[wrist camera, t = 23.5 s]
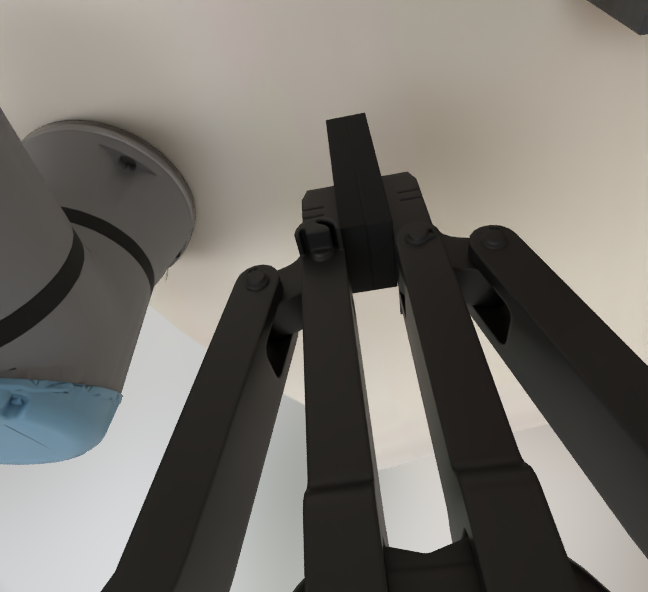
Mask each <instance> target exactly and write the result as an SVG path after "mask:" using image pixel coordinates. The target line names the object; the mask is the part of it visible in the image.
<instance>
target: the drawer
mask: <svg viewBox="0 0 648 592" xmlns="http://www.w3.org/2000/svg"><path fill="white" fill-rule="evenodd" d="M587 1H589V2H590V3H592V4H593V5H595V6H596V7H598V8H599V9H601V10H602V11H604V12H605V13H607V14H608V15H610V16H611V17H613V18H614V19H616V20H618V21H619V22H621V23H622V24H624V25H625V26H627V27H628V28H630V29H631V30H633V31H634V32H636V33H637V34H639V35H645V34H648V0H587Z"/></svg>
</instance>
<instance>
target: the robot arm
mask: <svg viewBox="0 0 648 592" xmlns="http://www.w3.org/2000/svg"><path fill="white" fill-rule="evenodd" d="M326 125H327V133H328V141H329V149H330V157H331V165H332V173H333V181H334V186H331V187H326V188H320V189H315V190H309V191H307V192H306V194H305V196H304V198H303V199H302V218H303V223H302V224H300V225H299V227H298V228H297V229H296V231H295V235H294V236H295V239H296V243H297V246H298V250H299V253H300V257H299V258H298V259H297V260H296V261H295V262H294V263H292V264H291V265H289V266H287V267H285V268H283V269H280V270H278V271H277V270H276V269H275V268H273V267H272V266H268V265H257V266H253V267H251V268H249V269H247V270H245V271H244V272H243V273H241V274H240V276H239V277H238V279H237V280H236V283H235V285H234V287H233V290H232V292H231V295H230V297H229V299H228V302H227V304H226V307H225V309H224V311H223V314H222V316H221V319H220V321H219V323H218V326H217V328H216V331H215V333H214V335H213V338H212V340H211V343H210V345H209V347H208V350H207V352H206V355H205V357H204V359H203V362H202V364H201V367H200V369H199V371H198V374H197V376H196V379H195V381H194V384H193V386H192V389H191V391H190V393H189V396H188V398H187V400H186V403H185V405H184V408H183V410H182V412H181V415H180V417H179V420H178V422H177V424H176V427H175V429H174V432H173V434H172V436H171V439H170V441H169V444H168V446H167V448H166V451H165V453H164V456H163V458H162V460H161V463H160V465H159V468H158V470H157V472H156V475H155V477H154V480H153V482H152V484H151V487H150V489H149V492H148V494H147V496H146V499H145V501H144V504H143V506H142V509H141V511H140V513H139V516H138V518H137V520H136V523H135V525H134V528H133V530H132V532H131V535H130V537H129V540H128V542H127V544H126V547H125V549H124V552H123V554H122V557H121V559H120V561H119V564H118V566H117V569H116V571H115V573H114V574H113V576H112V577H111V578H110V580H109V581H108V582H107V584H106V585H105V586H104V588H103V589H102V591H101V592H229V591H230V587H231V585H232V581H233V578H234V575H235V571H236V567H237V563H238V559H239V556H240V552H241V548H242V544H243V540H244V537H245V533H246V529H247V526H248V522H249V518H250V514H251V511H252V506H253V503H254V499H255V496H256V492H257V488H258V484H259V480H260V477H261V473H262V469H263V465H264V461H265V458H266V454H267V450H268V447H269V443H270V439H271V435H272V432H273V428H274V424H275V420H276V416H277V413H278V409H279V405H280V402H281V398H282V394H283V390H284V387H285V383H286V379H287V375H288V372H289V368H290V364H291V360H292V356H293V353H294V349H295V345H296V341H297V338H298V331H300V330H302V329H303V351H304V382H305V413H306V443H307V474H308V484H307V489H306V491H305V494H304V500H303V532H304V533H303V534H304V575H305V578H304V579H303V580H302V581H301V582H300V583H299V584H298V585H297V587H296V588H295V590H294V591H293V592H610V591H609V590H608V589H607V588H606V587H604V586H603V585H602V584H601V583H600V582H599V581H598V580H597V579H596V578H595V577H593V576H592V575H591V574H590V573H589V572H588V571H586V570H585V569H584V568H583V567H581V566H580V565H579V564H577V563H576V562H575V561H573V560H572V559H570V558H569V557H567V554H566V551H565V549H564V546H563V543H562V541H561V538H560V536H559V533H558V530H557V527H556V524H555V522H554V519H553V516H552V514H551V511H550V508H549V506H548V503H547V500H546V498H545V495H544V493H543V490H542V487H541V485H540V482H539V480H538V478H537V475H536V474H535V472H534V470H533V469H532V467H531V466H530V465H528V464H527V463H525V462H524V460H523V459H522V457H521V455H520V452H519V450H518V447H517V444H516V442H515V438H514V436H513V433H512V430H511V427H510V425H509V422H508V419H507V416H506V413H505V411H504V408H503V405H502V402H501V400H500V397H499V394H498V391H497V388H496V386H495V383H494V380H493V377H492V375H491V372H490V369H489V366H488V363H487V361H486V358H485V355H484V352H483V350H482V347H481V344H480V341H479V338H478V336H477V333H476V330H475V327H474V325H473V322H472V319H471V316H472V318H473V319H474V320H475V322H476V323H477V325H478V326H479V327H480V329H481V330H482V332H483V333H484V334H485V336H486V337H487V339H488V340H489V341H490V343H491V344H492V345H493V347H494V348H495V350H496V351H497V352H498V354H499V355H500V357H501V358H502V359H503V361H504V362H505V364H506V365H507V366H508V368H509V369H510V370H511V372H512V373H513V375H514V376H515V377H516V379H517V380H518V382H519V383H520V384H521V386H522V387H523V389H524V390H525V391H526V393H527V394H528V395H529V397H530V398H531V400H532V401H533V402H534V404H535V405H536V407H537V408H538V409H539V411H540V412H541V413H542V415H543V416H544V418H545V419H546V420H547V422H548V423H549V424H550V426H551V427H552V429H553V430H554V432H555V433H556V434H557V436H558V437H559V438H560V440H561V441H562V442H563V444H564V445H565V447H566V448H567V450H568V451H569V452H570V454H571V455H572V457H573V458H574V459H575V461H576V462H577V463H578V465H579V466H580V468H581V469H582V470H583V472H584V473H585V475H586V476H587V477H588V479H589V480H590V481H591V483H592V484H593V486H594V487H595V488H596V490H597V491H598V493H599V494H600V495H601V497H602V498H603V500H604V501H605V502H606V504H607V505H608V507H609V508H610V509H611V511H612V512H613V513H614V514H615V516H616V518H617V519H618V520H619V522H620V523H621V524H622V526H623V527H624V528H625V530H626V531H627V533H628V534H629V535H630V537H631V538H632V540H633V541H634V542H635V543H636V545H637V546H638V547H639V548H640V550H641V551H642V552H643V554H644V555H645V556H646V557H647V559H648V366H647V365H646V364H645V363H644V362H643V361H642V360H641V359H640V358H639V357H638V356H637V355H636V354H635V353H634V352H633V351H632V350H631V349H630V348H629V347H628V346H627V345H626V344H625V343H624V342H623V341H622V340H621V339H620V338H619V337H618V336H617V335H616V334H615V333H614V332H613V331H612V330H611V329H610V328H609V327H608V325H607V324H606V323H605V322H604V321H603V320H602V319H601V318H600V317H599V316H598V315H597V314H596V313H595V312H594V311H593V310H592V309H591V308H590V307H589V306H588V305H587V304H586V303H585V302H584V301H583V300H582V299H581V298H580V297H579V296H578V295H577V294H576V293H575V292H574V291H573V290H572V289H571V288H570V287H569V286H568V285H567V284H566V283H565V282H564V281H563V280H562V279H561V278H560V277H559V276H558V275H557V274H556V273H555V272H554V271H553V270H552V269H551V268H550V267H549V266H548V265H547V264H546V263H545V262H544V261H543V260H542V259H541V258H540V257H539V256H538V255H537V254H536V253H535V252H534V251H533V250H532V249H531V248H530V247H529V246H528V245H527V244H526V243H525V242H524V241H523V240H522V239H521V238H520V237H519V236H518V235H517V234H516V233H515V232H513V231H512V230H510V229H509V228H506V227H503V226H498V225H488V226H483V227H480V228H478V229H476V230H474V231H473V233H472V234H471V235H470V238H460V237H451V236H448V235H444V234H442V233H441V232H440V231H439V230H438V228H437V227H435V226H434V225H433V224H432V222H431V219H430V216H429V213H428V210H427V208H426V205H425V202H424V199H423V197H422V193H421V191H420V188H419V185H418V182H417V179H416V178H415V177H413V176H412V175H411V174H410V173H409V172H402V173H397V174H391V175H386V176H381V173H380V169H379V166H378V162H377V158H376V154H375V150H374V146H373V142H372V138H371V135H370V131H369V127H368V123H367V119H366V115H365V113H360V114H355V115H350V116H345V117H340V118H335V119H330V120H326ZM194 224H195V205H194V201H193V197H192V194H191V192H190V189H189V187H188V185H187V183H186V182H185V180H184V178H183V177H182V175H181V174H180V173H179V171H178V170H177V169H176V168H175V166H174V165H173V164H172V163H171V162H170V161H169V160H168V159H167V158H166V157H165V156H164V155H163V154H161V153H160V152H159V151H158V150H157V149H155V148H154V147H152V146H151V145H150V144H148V143H147V142H145V141H143V140H142V139H140V138H138V137H136V136H134V135H132V134H130V133H128V132H126V131H123V130H121V129H118V128H115V127H112V126H109V125H105V124H102V123H97V122H91V121H81V120H69V121H60V122H55V123H51V124H48V125H45V126H42V127H40V128H38V129H36V130H34V131H33V132H31V133H30V134H29V135H28V136H26V137H25V138H24V139H23V141H22V142H21V141H20V139H19V138H18V136H17V134H16V133H15V131H14V129H13V128H12V126H11V124H10V123H9V121H8V119H7V118H6V116H5V114H4V113H3V111H2V109H1V108H0V464H12V465H13V464H14V465H22V464H23V465H24V464H44V463H52V462H59V461H64V460H69V459H72V458H75V457H78V456H80V455H83V454H85V453H86V452H87V451H89V450H91V449H92V448H94V447H95V446H96V445H98V444H99V443H100V442H101V440H102V439H103V438H104V436H105V434H106V432H107V430H108V428H109V425H110V423H111V421H112V419H113V416H114V414H115V412H116V410H117V407H118V405H119V404H120V403H121V400H122V397H123V396H122V394H121V392H122V389H123V386H124V382H125V379H126V375H127V372H128V369H129V366H130V363H131V359H132V356H133V353H134V350H135V346H136V343H137V339H138V336H139V333H140V330H141V327H142V323H143V320H144V317H145V314H146V310H147V307H148V304H149V301H150V297H151V294H152V291H153V288H154V286H155V285H156V283H157V282H158V281H159V280H160V279H161V278H162V276H163V275H164V273H165V272H166V270H167V274H166V280H167V276H168V268H169V267H171V266H172V265H173V264H174V263H175V262H176V261H177V260H178V259H179V258H180V257H181V255H182V254H183V253H184V251H185V249H186V248H187V246H188V244H189V242H190V239H191V235H192V232H193V228H194ZM397 282H398V287H399V298H400V312H401V314H403V316H404V321H405V325H406V329H407V334H408V338H409V343H410V347H411V352H412V356H413V360H414V365H415V369H416V374H417V378H418V382H419V387H420V391H421V396H422V400H423V405H424V409H425V413H426V418H427V422H428V427H429V431H430V436H431V440H432V444H433V449H434V453H435V458H436V462H437V466H438V470H439V475H440V479H441V484H442V488H443V493H444V497H445V502H446V506H447V511H448V518H449V526H450V532H451V538H452V544H450V545H447V546H445V547H443V548H441V549H438V550H436V551H433V552H431V553H419V552H414V551H408V550H403V549H398V548H392V547H389V544H388V538H387V532H386V526H385V520H384V513H383V506H382V499H381V493H380V485H379V477H378V470H377V463H376V456H375V449H374V442H373V434H372V427H371V420H370V413H369V406H368V398H367V391H366V384H365V377H364V370H363V363H362V355H361V348H360V341H359V334H358V327H357V320H356V312H355V305H354V300H353V295H352V293H358V292H364V291H371V290H377V289H383V288H390V287H396V286H397ZM470 315H471V316H470Z"/></svg>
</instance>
